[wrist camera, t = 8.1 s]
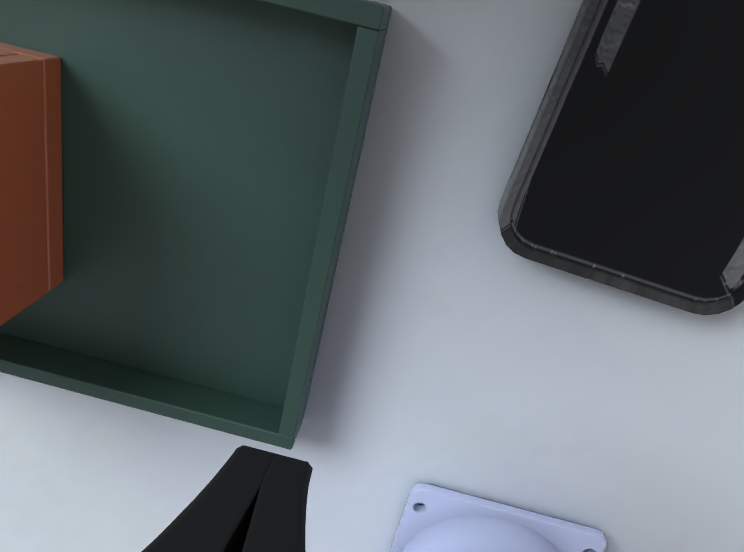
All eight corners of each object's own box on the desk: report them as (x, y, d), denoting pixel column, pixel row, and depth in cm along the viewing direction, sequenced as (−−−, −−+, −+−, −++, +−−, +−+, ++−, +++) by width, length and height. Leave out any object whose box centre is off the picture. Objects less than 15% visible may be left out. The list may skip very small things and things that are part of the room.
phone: (1145, -302, 12) (729, 325, 18) (1090, -277, 13) (714, 308, 19) (766, -430, 11) (485, 245, 18) (740, -394, 12) (483, 232, 19)
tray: (303, 417, 23) (291, 450, 22) (-190, 286, 24) (-240, 308, 22) (392, 6, 17) (384, 6, 15) (-292, -163, 17) (-375, -182, 16)
